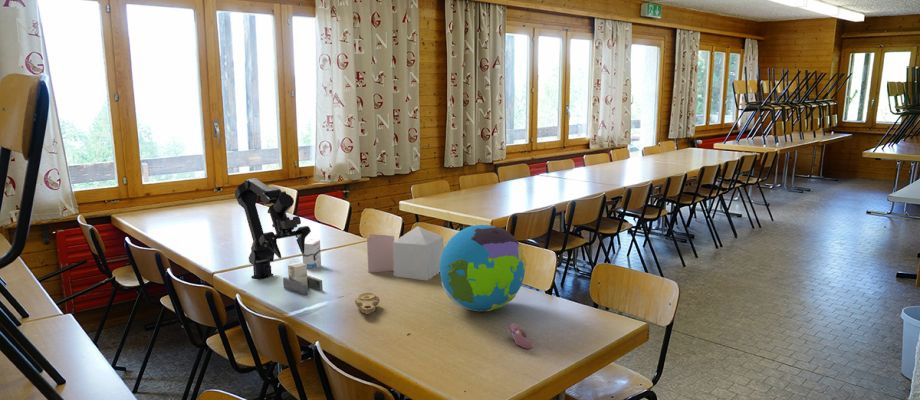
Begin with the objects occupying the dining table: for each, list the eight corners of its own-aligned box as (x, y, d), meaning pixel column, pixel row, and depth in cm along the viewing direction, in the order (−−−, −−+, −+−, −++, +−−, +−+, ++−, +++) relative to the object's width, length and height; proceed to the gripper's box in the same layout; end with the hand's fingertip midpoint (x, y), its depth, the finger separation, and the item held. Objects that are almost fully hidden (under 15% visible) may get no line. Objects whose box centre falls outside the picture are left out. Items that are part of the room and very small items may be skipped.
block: (289, 287, 237) (287, 264, 235) (300, 284, 240) (299, 262, 239) (296, 290, 234) (295, 267, 232) (307, 286, 237) (306, 264, 236)
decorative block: (393, 276, 253) (392, 229, 250) (410, 266, 268) (409, 221, 264) (428, 280, 247) (427, 232, 244) (444, 269, 262) (443, 224, 258)
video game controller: (514, 341, 192) (504, 323, 191) (527, 334, 192) (517, 316, 190) (519, 355, 182) (509, 335, 181) (533, 348, 182) (523, 328, 181)
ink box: (313, 270, 262) (312, 244, 260) (302, 270, 263) (301, 243, 260) (321, 265, 270) (320, 239, 268) (311, 264, 271) (309, 238, 269)
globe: (469, 332, 195) (469, 241, 189) (424, 305, 220) (422, 223, 214) (542, 314, 210) (544, 228, 205) (492, 290, 235) (492, 213, 230)
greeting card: (395, 269, 263) (395, 235, 260) (388, 274, 256) (387, 239, 253) (372, 267, 266) (370, 233, 263) (363, 272, 259) (362, 237, 257)
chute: (283, 290, 237) (283, 277, 236) (301, 285, 243) (300, 273, 242) (305, 298, 228) (304, 285, 227) (322, 292, 234) (322, 280, 233)
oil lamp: (365, 320, 206) (364, 306, 205) (344, 308, 217) (344, 295, 216) (392, 313, 213) (391, 299, 212) (371, 302, 224) (370, 289, 223)
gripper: (262, 213, 223) (275, 252, 219) (309, 206, 235) (322, 243, 231) (253, 225, 231) (265, 263, 227) (299, 218, 243) (311, 254, 239)
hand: (292, 255), depth 230 cm, fingers open, 9 cm apart
